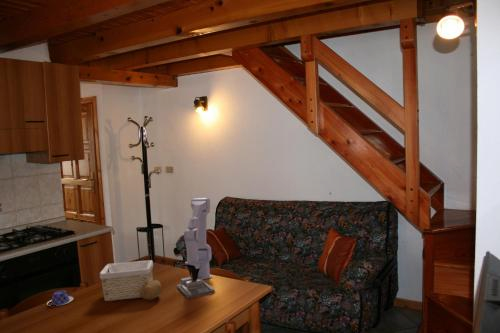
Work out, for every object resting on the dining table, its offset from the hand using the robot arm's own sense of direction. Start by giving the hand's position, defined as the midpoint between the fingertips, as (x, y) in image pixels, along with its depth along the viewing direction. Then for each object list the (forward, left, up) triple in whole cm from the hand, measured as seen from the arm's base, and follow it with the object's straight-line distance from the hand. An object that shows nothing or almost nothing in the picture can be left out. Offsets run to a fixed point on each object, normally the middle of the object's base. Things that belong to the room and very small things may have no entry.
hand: (194, 278), depth 204 cm
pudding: (-23, -62, -6) cm, 66 cm away
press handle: (0, 0, -4) cm, 4 cm away
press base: (+1, 0, -6) cm, 6 cm away
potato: (-1, -22, -6) cm, 22 cm away
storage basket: (-13, -30, -6) cm, 34 cm away
